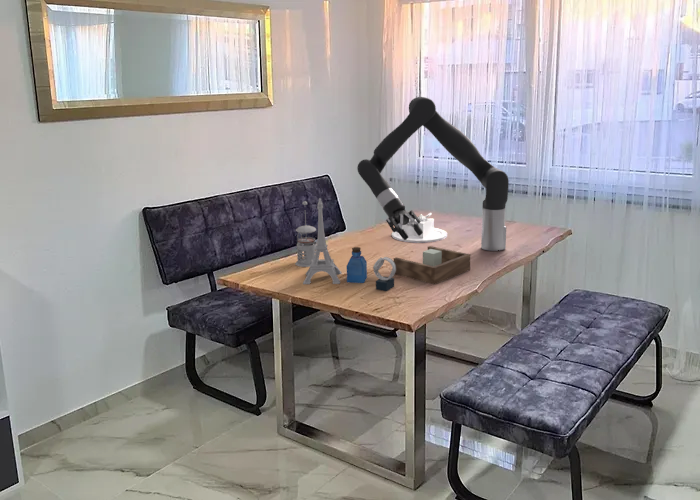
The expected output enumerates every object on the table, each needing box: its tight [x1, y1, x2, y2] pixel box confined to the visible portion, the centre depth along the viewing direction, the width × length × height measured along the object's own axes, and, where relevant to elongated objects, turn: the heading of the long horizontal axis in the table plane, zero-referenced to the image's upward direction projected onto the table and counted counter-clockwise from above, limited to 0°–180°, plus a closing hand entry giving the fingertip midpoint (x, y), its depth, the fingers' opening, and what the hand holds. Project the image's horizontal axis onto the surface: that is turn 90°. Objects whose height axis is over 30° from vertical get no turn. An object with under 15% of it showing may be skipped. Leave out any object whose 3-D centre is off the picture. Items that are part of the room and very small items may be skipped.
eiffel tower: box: [302, 198, 342, 285], centre depth 245 cm, size 13×13×30 cm
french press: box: [294, 200, 317, 268], centre depth 265 cm, size 10×12×25 cm
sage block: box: [422, 249, 442, 266], centre depth 252 cm, size 5×5×8 cm
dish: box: [391, 212, 448, 244], centre depth 303 cm, size 25×25×11 cm
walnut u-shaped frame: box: [393, 245, 471, 285], centre depth 252 cm, size 19×22×6 cm
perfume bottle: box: [346, 246, 368, 284], centre depth 244 cm, size 6×6×12 cm
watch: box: [372, 256, 396, 292], centre depth 235 cm, size 6×8×11 cm
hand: (414, 236), depth 255 cm, fingers open, 8 cm apart
